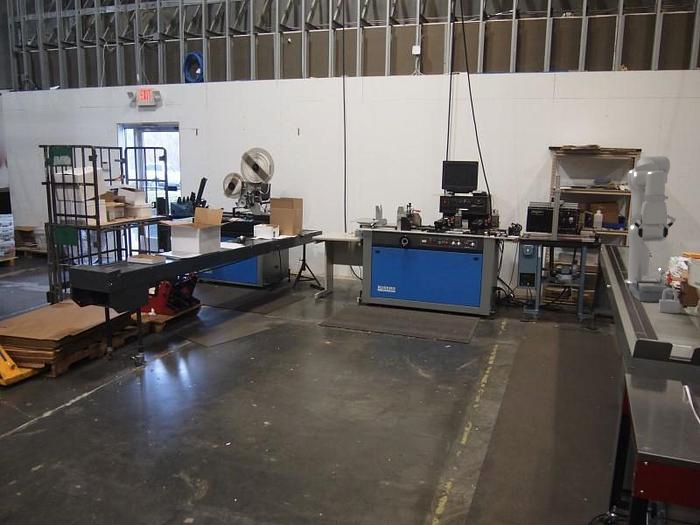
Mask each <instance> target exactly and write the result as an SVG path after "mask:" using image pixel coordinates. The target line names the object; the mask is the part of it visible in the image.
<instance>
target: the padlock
mask: <svg viewBox="0 0 700 525" xmlns="http://www.w3.org/2000/svg"><path fill="white" fill-rule="evenodd" d="M667 291H669V292H671V293H672V292H673V294H674V295H673V299H672V300H667V299H666V300H665V295H666V292H667ZM680 303H681V302H680V300H679V299H678V291H677V290H676V289H675V288H667V289H665V290H664V291H663V294H662V299H660V300H659V302H658V305H659V306H658V311H659V313H666V314H667V313H669V314H680V305H681V304H680Z"/></svg>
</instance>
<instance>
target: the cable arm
mask: <svg viewBox="0 0 700 525" xmlns="http://www.w3.org/2000/svg"><path fill="white" fill-rule="evenodd" d="M666 272H667V268H666V267H665V268H664V267H658V268H657V270H654V271H651V272H649V274H646V275H644V276H642V279H648V278H649V279H651V278H652V277H654V276H657V275H658V280H659V281H660V282H661V284H664V285H665V274H666Z"/></svg>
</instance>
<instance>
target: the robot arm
mask: <svg viewBox="0 0 700 525" xmlns="http://www.w3.org/2000/svg"><path fill="white" fill-rule="evenodd" d="M670 168H671V161H670V159H669V158H668V157H667V156H664V155H661V156H657V155H656V156H645V157H641V158H640V159H638V160H637V162H636V165H635V167H634V168H632V169H631V170H629V171H627V175H626V177H627V178H626V180H627V185H628V188H629V191H630V193H631V217H632V218H631V222H632V223H633V224H631V225H630V226H629V227H628V230H627V231H628V232H627V233H628V234H627V235H628V243H629V246H628V247H629V249H628V250H629V251H628V271H627V278H626V279H625V280H624V283H625V284H627V285H629V282H632V283H634V278H638V279H642V276H644V275H646V274H649V273H650V256H651V252H650V248H649V246H648V245H647V244H646V242H648V243H649V242H651V243H653V242H654V243H655V242H657V243H659V242H665V240H666V239H667V236H668V235H669V229H670V227H672V226H673V225H674V223H675V222H676V221H677V220H676V219H677V218H675V217H673V216H671V215H669V214H668V209H667V208H668V207H667V202H666V201H667V200H668V199H669V196H667V195H666V194H665V193H666V184H667V183H668V175H669V172H670ZM665 200H666V201H665ZM668 220H670V221H669V223H668ZM648 279H650V278H648Z"/></svg>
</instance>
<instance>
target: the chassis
mask: <svg viewBox="0 0 700 525" xmlns="http://www.w3.org/2000/svg"><path fill="white" fill-rule="evenodd" d="M665 289H668V286H666V284H665V283H664V284H661V282H660V281H659V278H649V279H638V278H634V283H632V282H629V284H628V291H629V292H630V293H631V294H632V295H633V297H635V299H636V298H637V299H638V300H639V301H650V302H649V303H659V300H660V299H662V294H663V291H664V290H665ZM637 299H636V300H637ZM666 299H667V300H673V293H672V291H667V292H666V295H665V300H666ZM638 300H637V301H638ZM639 301H638V302H639Z"/></svg>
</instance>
